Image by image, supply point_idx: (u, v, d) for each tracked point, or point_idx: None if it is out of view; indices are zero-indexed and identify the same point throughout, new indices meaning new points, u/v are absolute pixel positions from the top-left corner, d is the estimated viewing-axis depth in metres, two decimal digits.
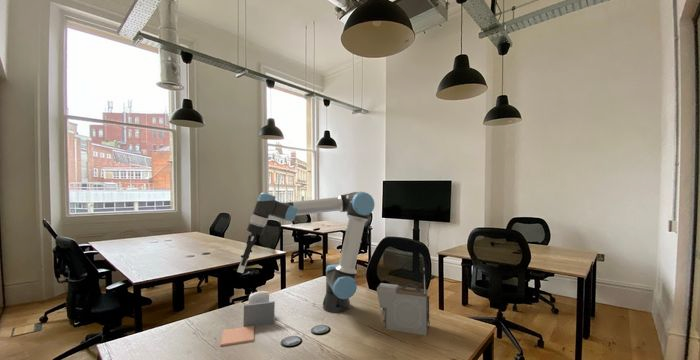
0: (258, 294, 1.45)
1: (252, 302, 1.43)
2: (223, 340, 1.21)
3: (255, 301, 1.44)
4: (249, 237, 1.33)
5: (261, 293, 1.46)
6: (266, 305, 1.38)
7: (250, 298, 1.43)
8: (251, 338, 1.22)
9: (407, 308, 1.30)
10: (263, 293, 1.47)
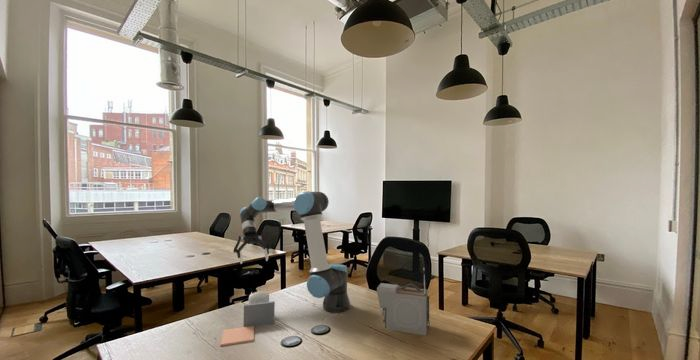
0: (258, 294, 1.45)
1: (252, 302, 1.43)
2: (223, 340, 1.21)
3: (255, 301, 1.44)
4: None
5: (261, 293, 1.46)
6: (266, 305, 1.38)
7: (250, 298, 1.43)
8: (251, 338, 1.22)
9: (407, 308, 1.30)
10: (263, 293, 1.47)
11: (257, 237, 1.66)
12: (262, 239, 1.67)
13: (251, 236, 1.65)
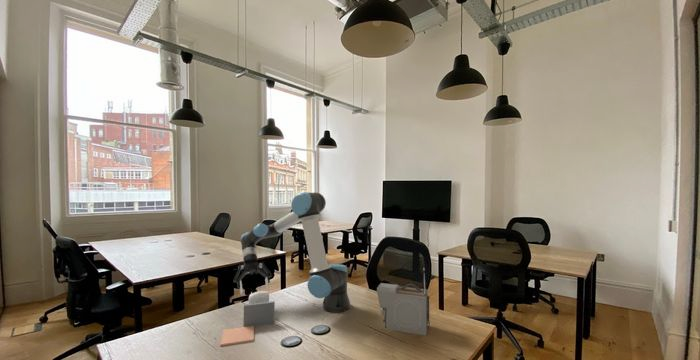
0: (258, 294, 1.45)
1: (252, 302, 1.43)
2: (223, 340, 1.21)
3: (255, 301, 1.44)
4: None
5: (261, 293, 1.46)
6: (266, 305, 1.38)
7: (250, 298, 1.43)
8: (251, 338, 1.22)
9: (407, 308, 1.30)
10: (263, 293, 1.47)
11: (258, 265, 1.62)
12: (263, 267, 1.63)
13: (252, 264, 1.61)
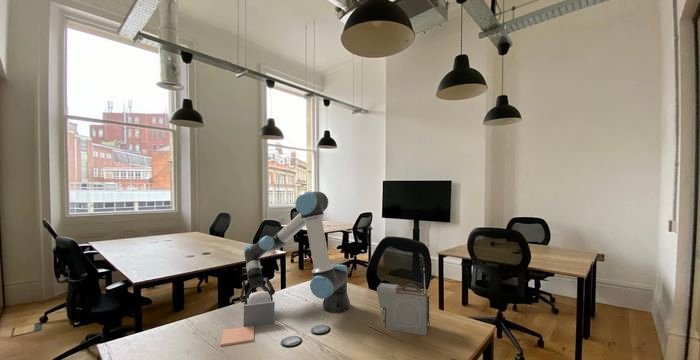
0: (258, 294, 1.45)
1: (252, 302, 1.43)
2: (223, 340, 1.21)
3: (255, 301, 1.44)
4: None
5: (261, 293, 1.46)
6: (266, 305, 1.38)
7: (250, 298, 1.43)
8: (251, 338, 1.22)
9: (407, 308, 1.30)
10: (263, 293, 1.47)
11: (262, 279, 1.55)
12: (267, 282, 1.55)
13: (256, 278, 1.54)
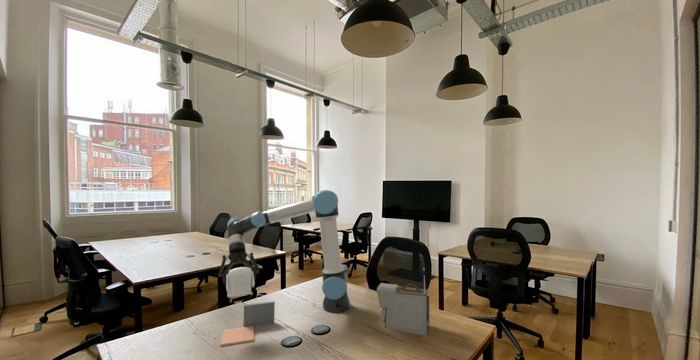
0: (239, 270, 1.28)
1: (231, 278, 1.26)
2: (223, 340, 1.21)
3: (235, 277, 1.27)
4: None
5: (242, 269, 1.29)
6: (266, 305, 1.38)
7: (229, 274, 1.27)
8: (251, 338, 1.22)
9: (407, 308, 1.30)
10: (245, 269, 1.30)
11: (245, 255, 1.38)
12: (251, 258, 1.38)
13: (238, 253, 1.38)
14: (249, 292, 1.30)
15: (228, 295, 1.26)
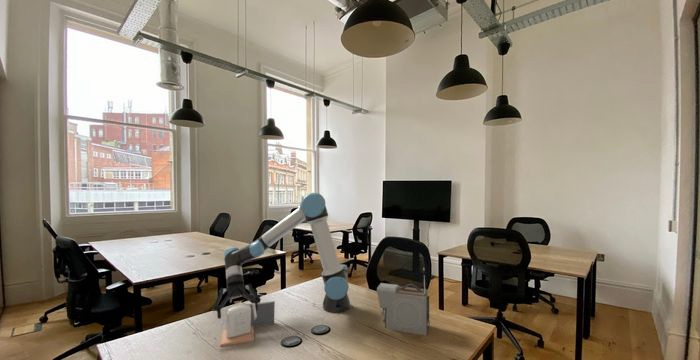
0: (238, 309, 1.25)
1: (230, 318, 1.23)
2: (223, 340, 1.21)
3: (234, 317, 1.23)
4: None
5: (241, 307, 1.26)
6: (266, 305, 1.38)
7: (228, 313, 1.23)
8: (251, 338, 1.22)
9: (407, 308, 1.30)
10: (244, 307, 1.26)
11: (244, 288, 1.35)
12: (250, 290, 1.35)
13: (236, 287, 1.34)
14: (249, 331, 1.27)
15: (227, 335, 1.23)
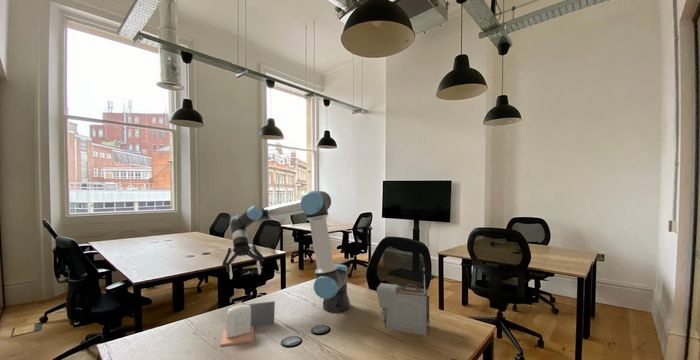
0: (238, 309, 1.25)
1: (230, 318, 1.23)
2: (223, 340, 1.21)
3: (234, 317, 1.23)
4: None
5: (241, 307, 1.26)
6: (266, 305, 1.38)
7: (228, 313, 1.23)
8: (251, 338, 1.22)
9: (407, 308, 1.30)
10: (244, 307, 1.26)
11: (249, 248, 1.52)
12: (254, 250, 1.53)
13: (242, 247, 1.51)
14: (249, 331, 1.27)
15: (227, 335, 1.23)
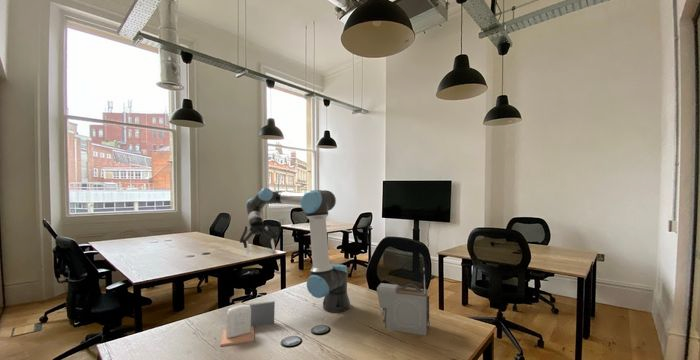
0: (238, 309, 1.25)
1: (230, 318, 1.23)
2: (223, 340, 1.21)
3: (234, 317, 1.23)
4: None
5: (241, 307, 1.26)
6: (266, 305, 1.38)
7: (228, 313, 1.23)
8: (251, 338, 1.22)
9: (407, 308, 1.30)
10: (244, 307, 1.26)
11: (263, 228, 1.64)
12: (268, 230, 1.65)
13: (257, 227, 1.63)
14: (249, 331, 1.27)
15: (227, 335, 1.23)
